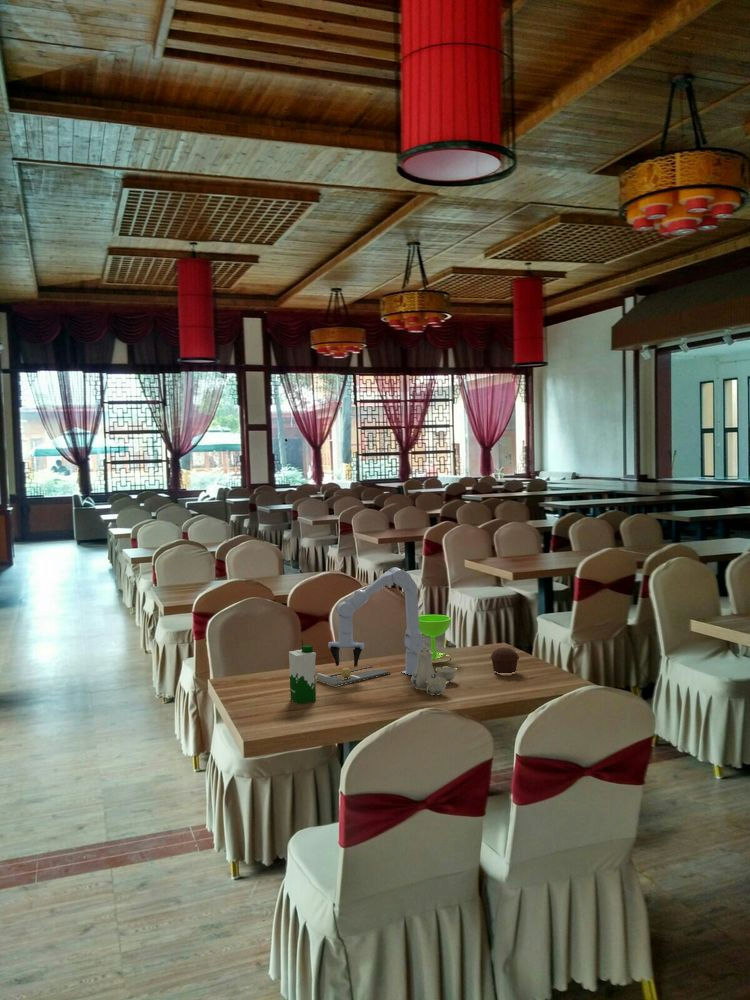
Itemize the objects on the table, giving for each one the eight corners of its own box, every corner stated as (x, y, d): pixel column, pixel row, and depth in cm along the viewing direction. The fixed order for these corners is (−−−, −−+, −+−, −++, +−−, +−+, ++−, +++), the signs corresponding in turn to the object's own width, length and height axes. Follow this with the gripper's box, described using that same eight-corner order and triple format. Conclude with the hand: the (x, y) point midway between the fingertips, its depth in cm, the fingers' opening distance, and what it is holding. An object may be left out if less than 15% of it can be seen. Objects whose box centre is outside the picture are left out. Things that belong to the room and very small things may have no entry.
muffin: (484, 673, 330) (484, 648, 330) (502, 668, 338) (501, 644, 337) (508, 678, 322) (507, 653, 321) (525, 673, 329) (525, 648, 329)
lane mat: (390, 674, 332) (389, 666, 331) (335, 687, 314) (334, 679, 314) (371, 668, 341) (371, 661, 341) (317, 681, 323) (316, 673, 323)
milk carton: (319, 701, 295) (318, 647, 294) (296, 705, 291) (294, 650, 290) (309, 695, 303) (308, 642, 302) (287, 699, 299) (285, 645, 298)
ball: (353, 677, 325) (352, 667, 325) (347, 679, 322) (347, 669, 322) (345, 675, 328) (344, 666, 327) (339, 678, 324) (338, 668, 324)
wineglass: (409, 656, 360) (409, 616, 360) (443, 653, 365) (442, 613, 364) (422, 665, 345) (422, 623, 344) (457, 661, 350) (456, 620, 349)
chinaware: (448, 703, 296) (452, 659, 294) (403, 697, 299) (407, 653, 298) (456, 682, 323) (460, 641, 322) (415, 677, 326) (419, 636, 325)
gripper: (366, 630, 326) (366, 663, 327) (331, 629, 330) (332, 662, 331) (361, 634, 319) (361, 668, 320) (326, 633, 323) (327, 666, 324)
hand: (346, 665), depth 325 cm, fingers open, 7 cm apart
